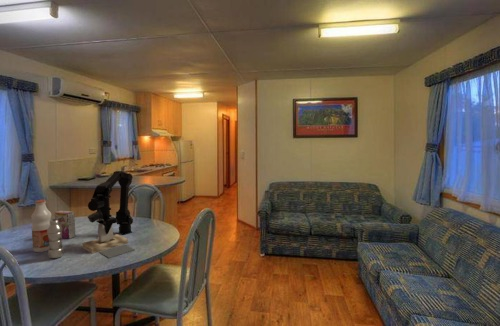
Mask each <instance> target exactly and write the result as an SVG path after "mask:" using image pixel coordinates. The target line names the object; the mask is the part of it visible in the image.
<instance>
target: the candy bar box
mask: <svg viewBox="0 0 500 326" xmlns="http://www.w3.org/2000/svg"><path fill="white" fill-rule="evenodd" d="M54 219H58V222H59V223H58V224H59V225H60V226H61V227H62V239H66V240H67V239H69V240H70V239H73V238H76V236H77V235H76V223H75V222H76V221H75V219H76V218H75V211H68V210H59V211H58V210H57V211H55V212H54Z"/></svg>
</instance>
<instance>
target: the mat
mask: <svg viewBox="0 0 500 326" xmlns="http://www.w3.org/2000/svg"><path fill="white" fill-rule="evenodd" d="M134 251H136V249H135V248H133V247H131V246H129V245H127V244H123V245H119V246H116V247H112V248H109V249H106V250H102V251H99V254H101V255H103V256H104V257H107V258H108V259H111V258H114V257H119V256H121V255H124V254H127V253H130V252H134Z"/></svg>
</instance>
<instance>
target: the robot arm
mask: <svg viewBox="0 0 500 326" xmlns="http://www.w3.org/2000/svg"><path fill="white" fill-rule="evenodd" d="M133 178H134V177H133V175H132V174H131V173H130V172H129V173H128V172H125V171H123V170H115V171H113V173H112V174H111V176H109V177H108V178H107V180H105V181H104V182H101V183H99V184H97V185H96V187H95V189H94V192H93V194H92V197H91V198H90V201H89V202H88V204H87V208H88V210H89V211H92V212H93V213H91V214H90V215H88V216H87V218H88V221H89V222H90V223H94V222H97V223H98V224H103V225H104V227H105V232H106V234H108V233H109V230H110V228H111V226H112V227H113V224H117V225H119V226H118V234H119V235H121V236H122V235H126V234H132V233H133V231H132V224H133V222H134V219H133V217H132V216H131V212H130V210H129V207H128V206H129V191H130V190H129V189H130V186H131V184H132V182H133ZM116 183H118V185H119V186H120V191H119V193H120V194H119V195H120V196H119V209H118V211H116V212H115V217H114V216H112V214H111V210H112V207H110V203H111V202H110V198H112V196H111V195H110V194H111V193H112V191H113V187H114V186H115V185H116Z"/></svg>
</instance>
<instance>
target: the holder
mask: <svg viewBox="0 0 500 326" xmlns="http://www.w3.org/2000/svg"><path fill="white" fill-rule="evenodd" d="M113 237H114V238H113V239H110V240H107V241H104V242H101V241H99V238H97V239H93V240H89V241H85V242H82V243H81V247H82V248H83V250H86V251H88V253H91V254H95V253H98V252H101V251H104V250H108V249H111V248H115V247H118V246H121V245H127V244H128V243H129V239H128V237H125V236H122V235H121V234H119V233H116V234H113Z"/></svg>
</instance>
